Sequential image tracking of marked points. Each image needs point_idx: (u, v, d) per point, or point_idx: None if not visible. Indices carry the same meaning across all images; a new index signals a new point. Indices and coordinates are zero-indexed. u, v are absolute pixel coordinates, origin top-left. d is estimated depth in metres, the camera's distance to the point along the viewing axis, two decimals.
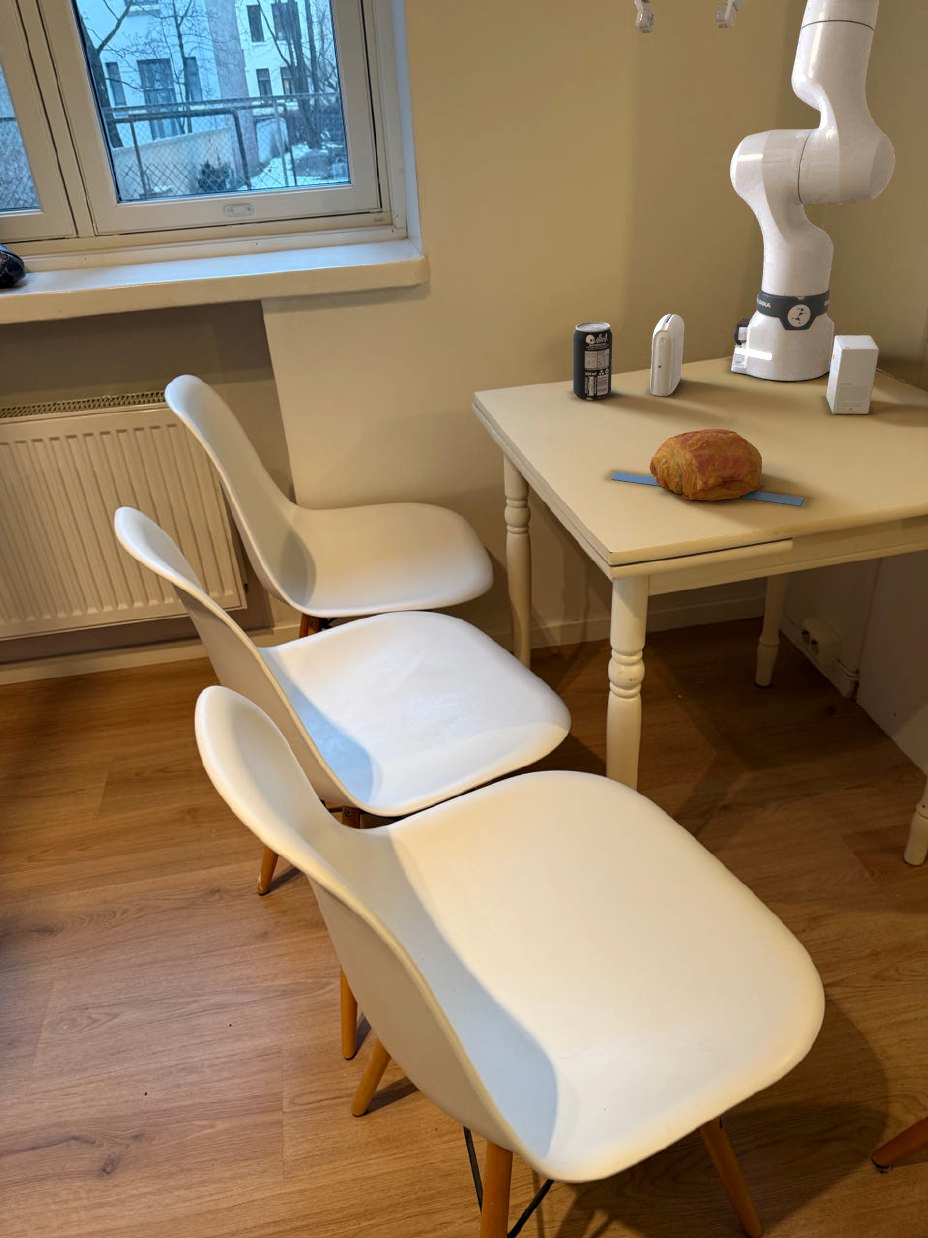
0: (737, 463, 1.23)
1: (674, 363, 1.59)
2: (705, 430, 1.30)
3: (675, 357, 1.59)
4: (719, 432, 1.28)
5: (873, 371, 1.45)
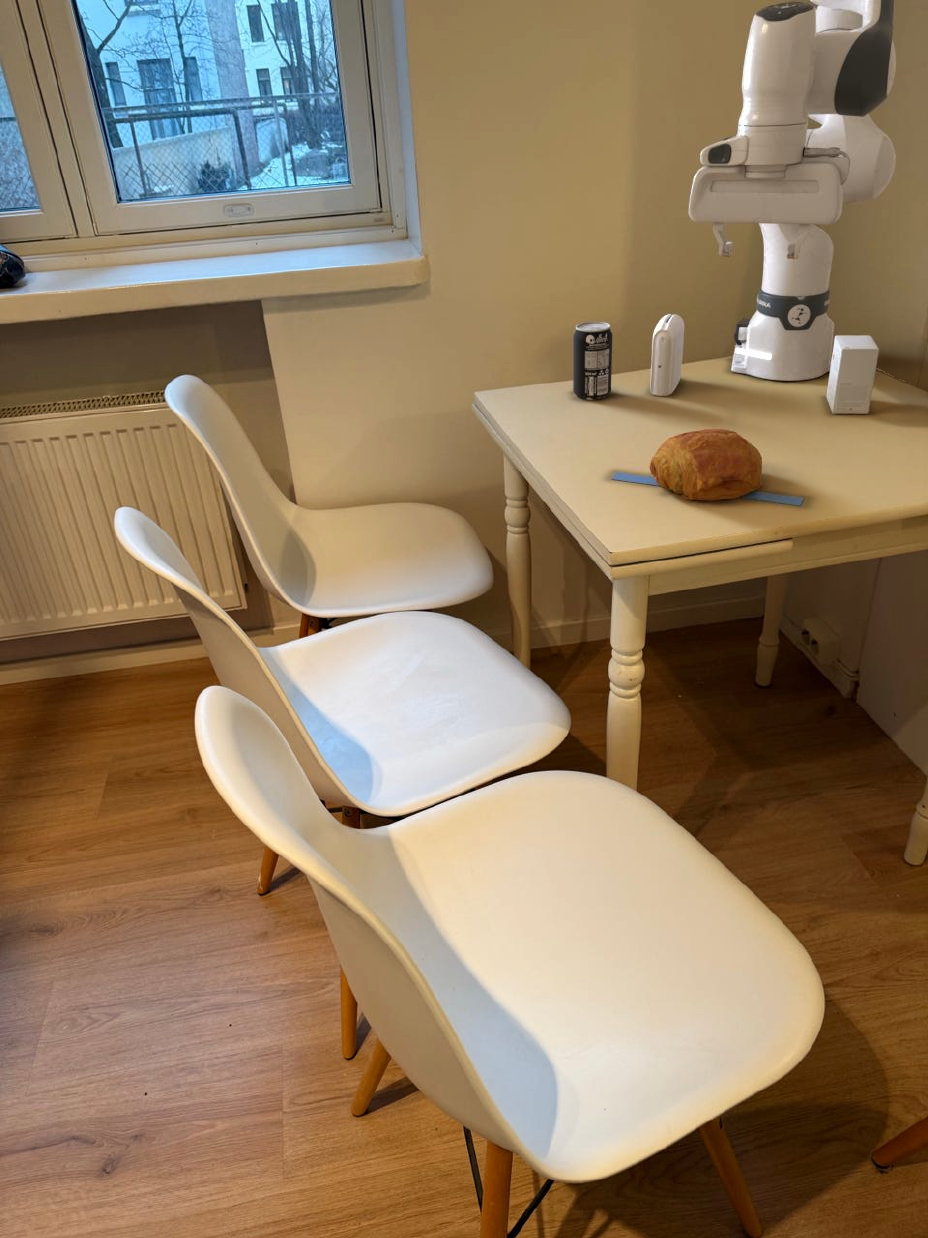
0: (737, 463, 1.23)
1: (674, 363, 1.59)
2: (705, 430, 1.30)
3: (675, 357, 1.59)
4: (719, 432, 1.28)
5: (873, 371, 1.45)
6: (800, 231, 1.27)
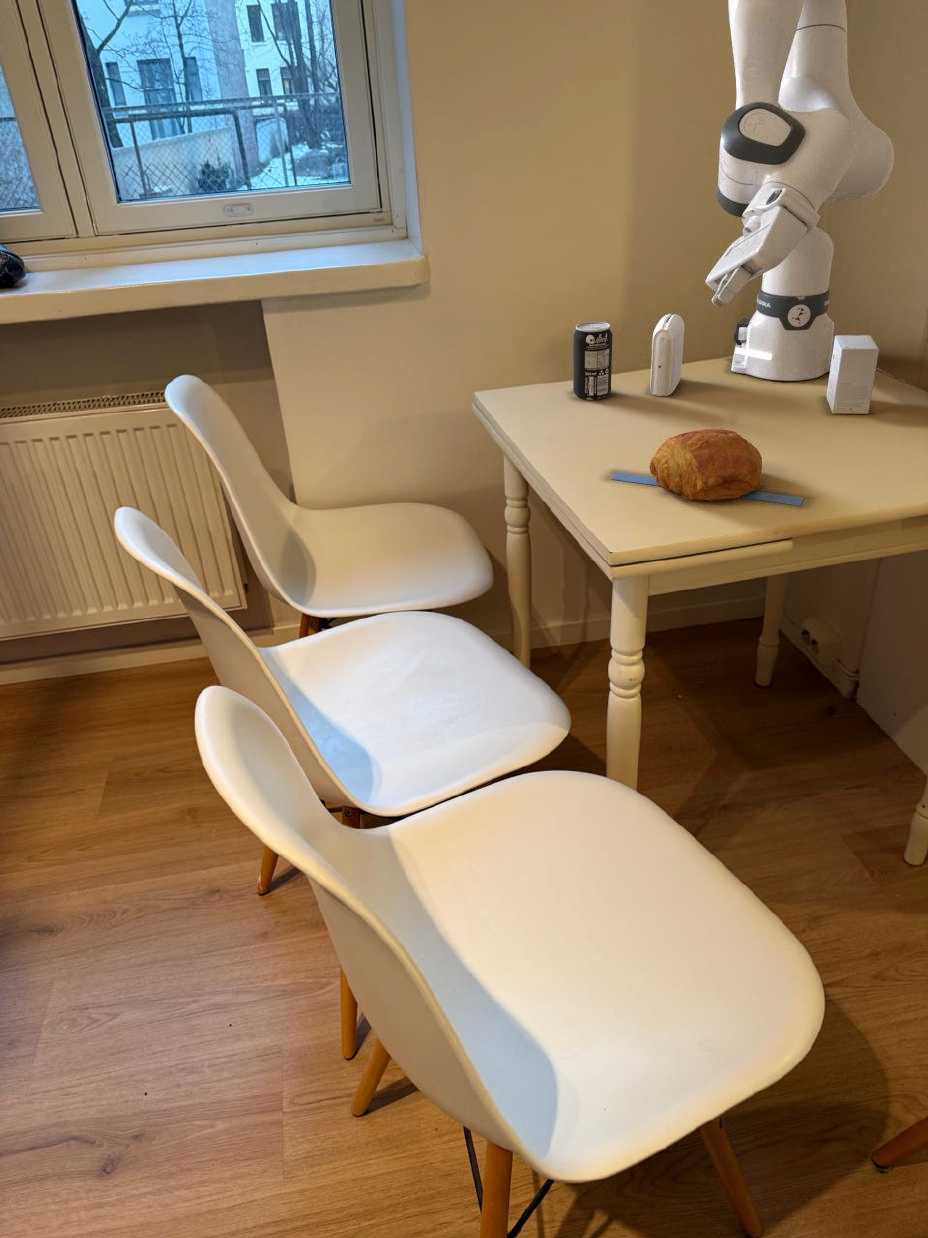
0: (737, 463, 1.23)
1: (674, 363, 1.59)
2: (705, 430, 1.30)
3: (675, 357, 1.59)
4: (719, 432, 1.28)
5: (873, 371, 1.45)
6: None
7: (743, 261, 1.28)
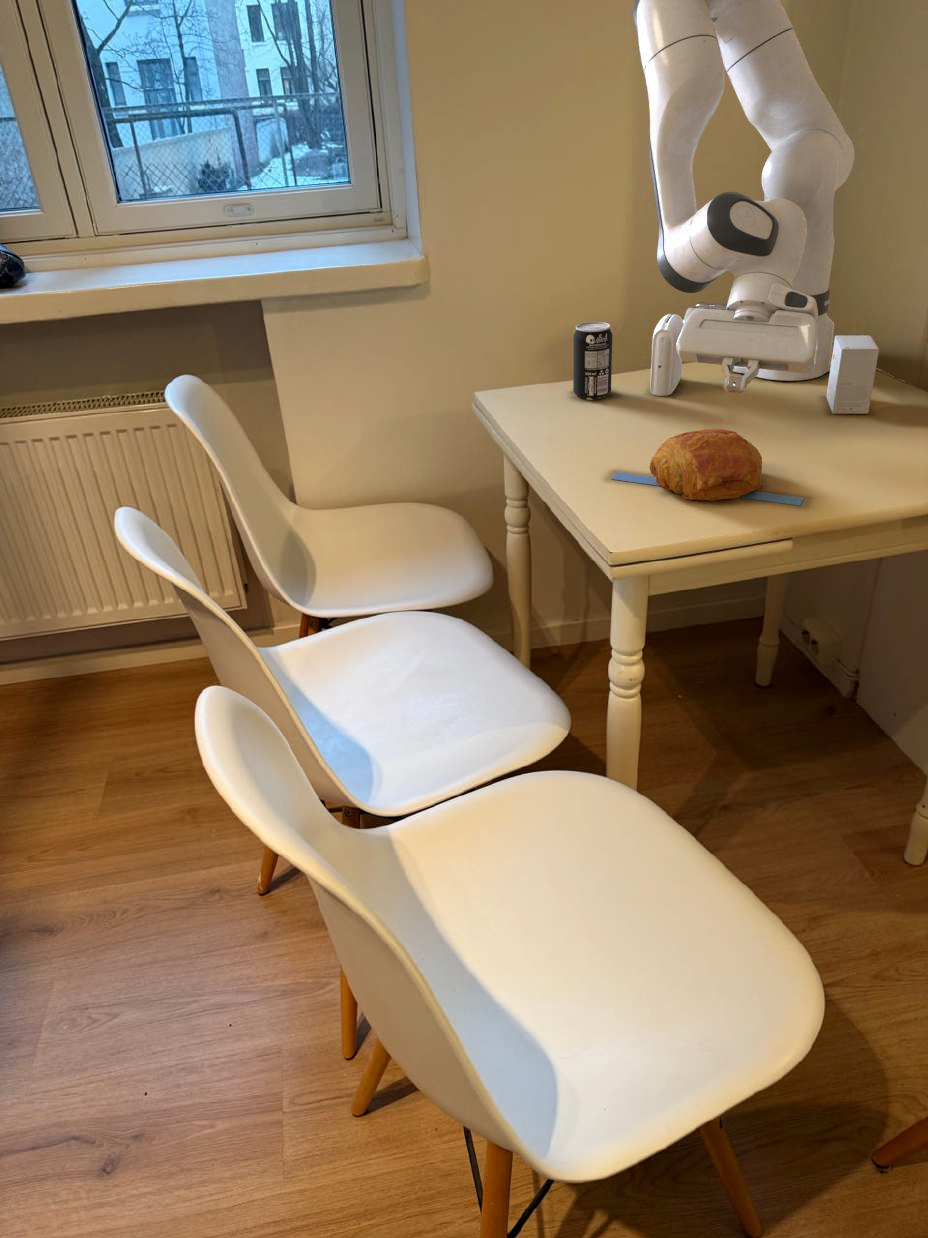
0: (737, 463, 1.23)
1: (674, 363, 1.59)
2: (705, 430, 1.30)
3: (675, 357, 1.59)
4: (719, 432, 1.28)
5: (873, 371, 1.45)
6: (730, 370, 1.40)
7: (772, 360, 1.35)
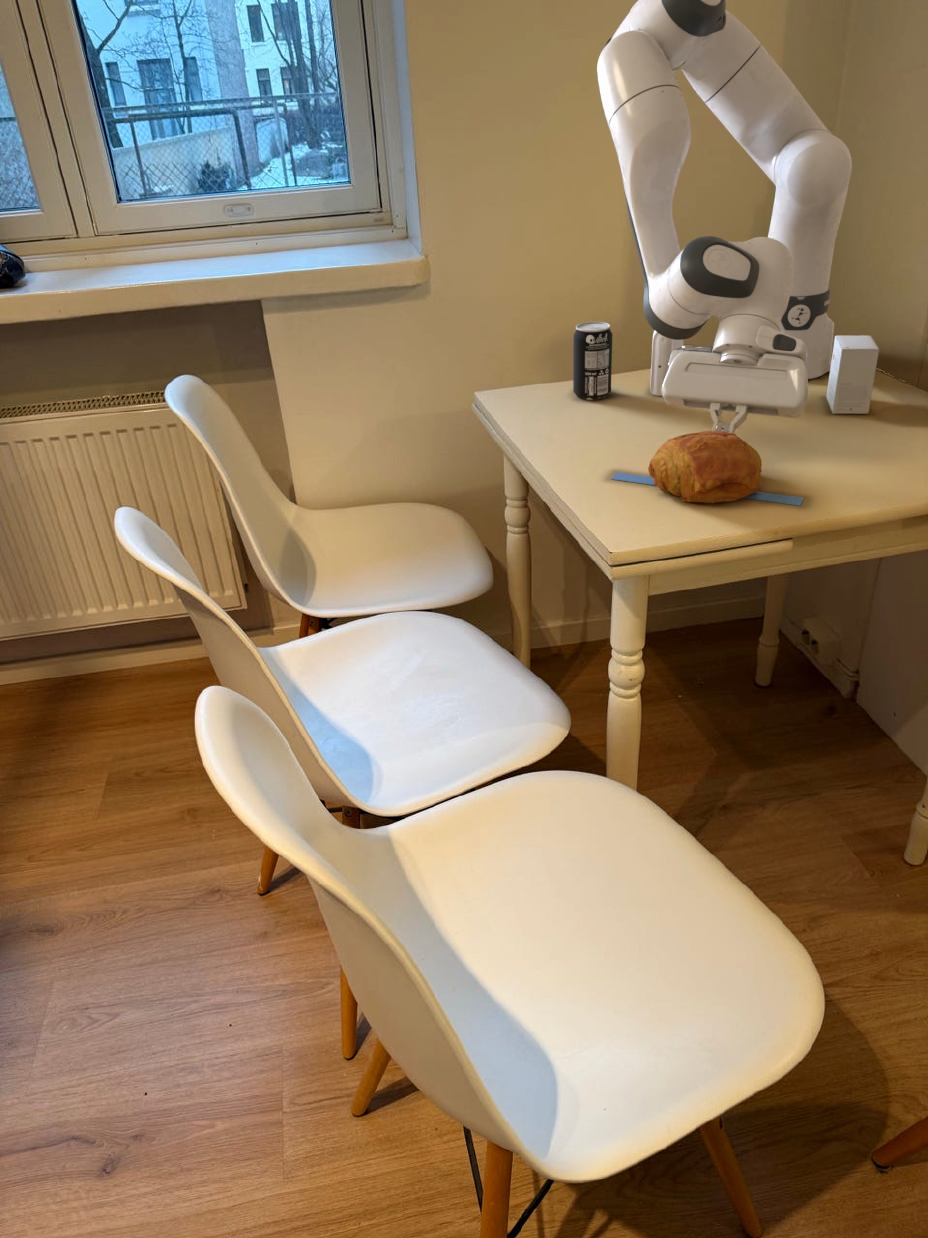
0: (736, 466, 1.23)
1: None
2: (704, 432, 1.29)
3: None
4: (718, 434, 1.27)
5: (873, 371, 1.45)
6: (718, 415, 1.35)
7: (761, 405, 1.31)
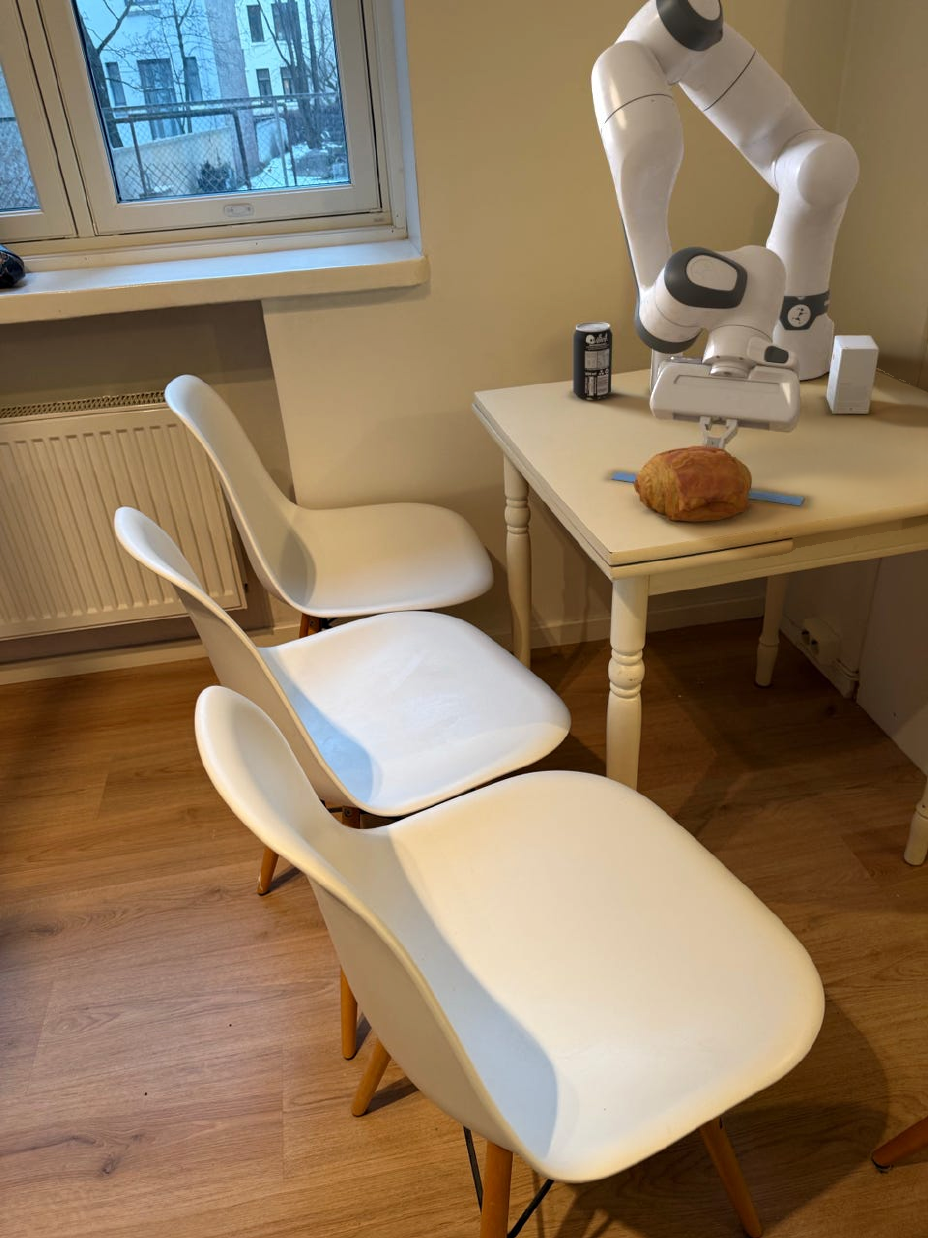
0: (722, 484, 1.18)
1: None
2: (693, 447, 1.25)
3: None
4: (707, 450, 1.23)
5: (873, 371, 1.45)
6: (708, 429, 1.31)
7: (752, 419, 1.26)
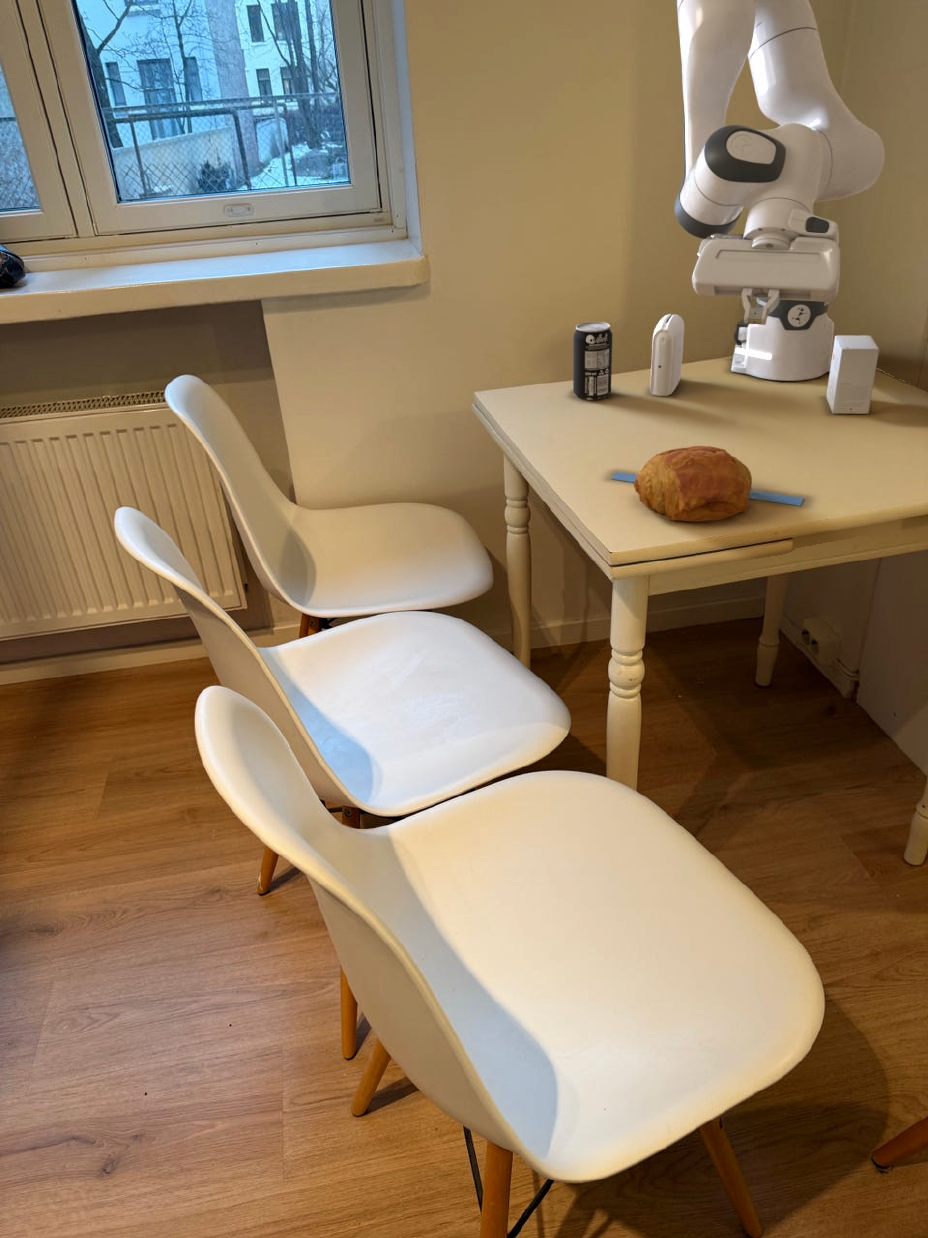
0: (722, 484, 1.18)
1: (674, 363, 1.59)
2: (693, 447, 1.25)
3: (675, 357, 1.59)
4: (707, 450, 1.23)
5: (873, 371, 1.45)
6: (750, 302, 1.35)
7: (794, 288, 1.30)
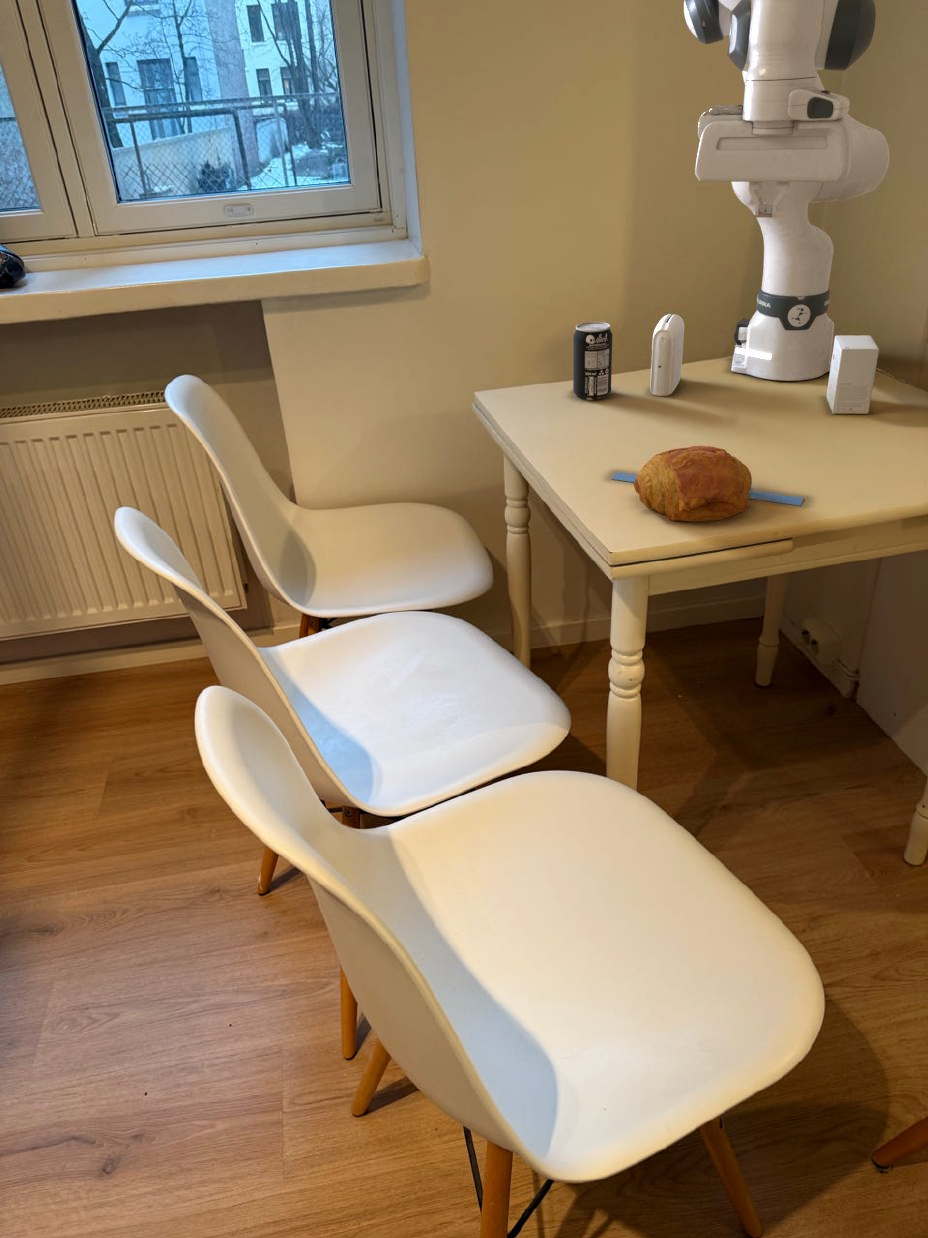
0: (722, 484, 1.18)
1: (674, 363, 1.59)
2: (693, 447, 1.25)
3: (675, 357, 1.59)
4: (707, 450, 1.23)
5: (873, 371, 1.45)
6: None
7: (802, 181, 1.25)
